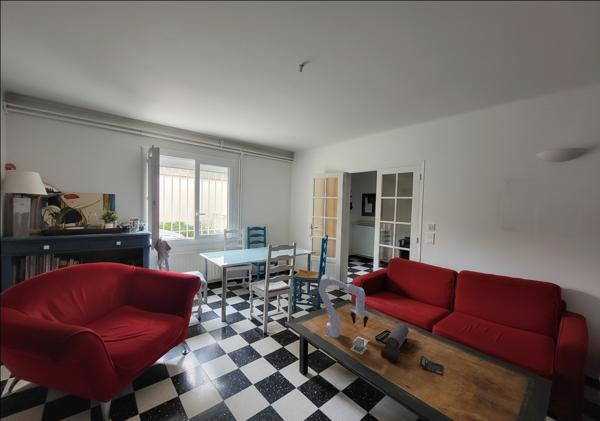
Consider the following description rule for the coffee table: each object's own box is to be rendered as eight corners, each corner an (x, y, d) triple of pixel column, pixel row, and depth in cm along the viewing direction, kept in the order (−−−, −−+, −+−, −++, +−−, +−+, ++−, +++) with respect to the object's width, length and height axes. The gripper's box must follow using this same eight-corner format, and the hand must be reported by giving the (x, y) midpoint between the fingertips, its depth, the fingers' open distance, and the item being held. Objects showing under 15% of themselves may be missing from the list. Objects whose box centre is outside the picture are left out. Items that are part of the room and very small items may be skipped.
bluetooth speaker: (400, 354, 155) (401, 339, 154) (385, 349, 161) (386, 334, 160) (409, 338, 173) (409, 324, 172) (395, 333, 179) (396, 320, 178)
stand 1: (353, 343, 165) (353, 341, 165) (357, 338, 172) (357, 336, 172) (364, 348, 161) (364, 346, 161) (368, 342, 167) (369, 340, 167)
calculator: (442, 376, 137) (442, 371, 137) (419, 368, 143) (419, 363, 143) (442, 366, 145) (442, 361, 145) (420, 359, 151) (421, 354, 151)
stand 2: (350, 351, 157) (350, 349, 157) (355, 345, 163) (355, 343, 163) (361, 356, 152) (362, 354, 152) (366, 350, 159) (366, 347, 159)
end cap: (380, 359, 150) (380, 348, 150) (384, 353, 156) (384, 343, 156) (397, 366, 144) (397, 355, 144) (400, 360, 150) (401, 349, 150)
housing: (353, 349, 157) (353, 341, 157) (357, 344, 162) (357, 337, 162) (360, 351, 154) (360, 344, 154) (364, 347, 159) (364, 339, 159)
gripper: (347, 305, 171) (347, 323, 171) (367, 311, 162) (367, 330, 163) (352, 301, 176) (351, 319, 177) (371, 307, 168) (371, 326, 168)
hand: (359, 324), depth 170 cm, fingers open, 7 cm apart
